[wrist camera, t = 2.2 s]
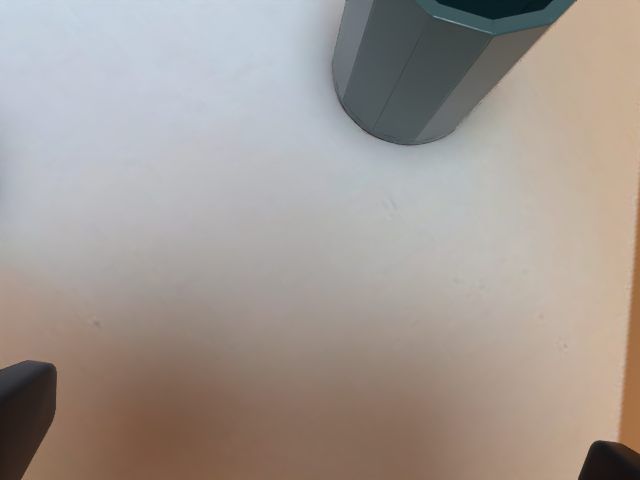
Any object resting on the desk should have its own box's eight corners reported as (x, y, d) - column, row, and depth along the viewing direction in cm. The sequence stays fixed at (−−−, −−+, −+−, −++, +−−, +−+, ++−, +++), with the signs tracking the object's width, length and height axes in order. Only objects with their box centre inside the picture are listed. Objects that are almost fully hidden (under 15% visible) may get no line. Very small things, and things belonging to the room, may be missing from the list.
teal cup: (409, 175, 22) (497, 78, 14) (301, 70, 23) (319, -89, 14) (505, 79, 24) (642, -66, 15) (401, -19, 24) (476, -216, 15)
